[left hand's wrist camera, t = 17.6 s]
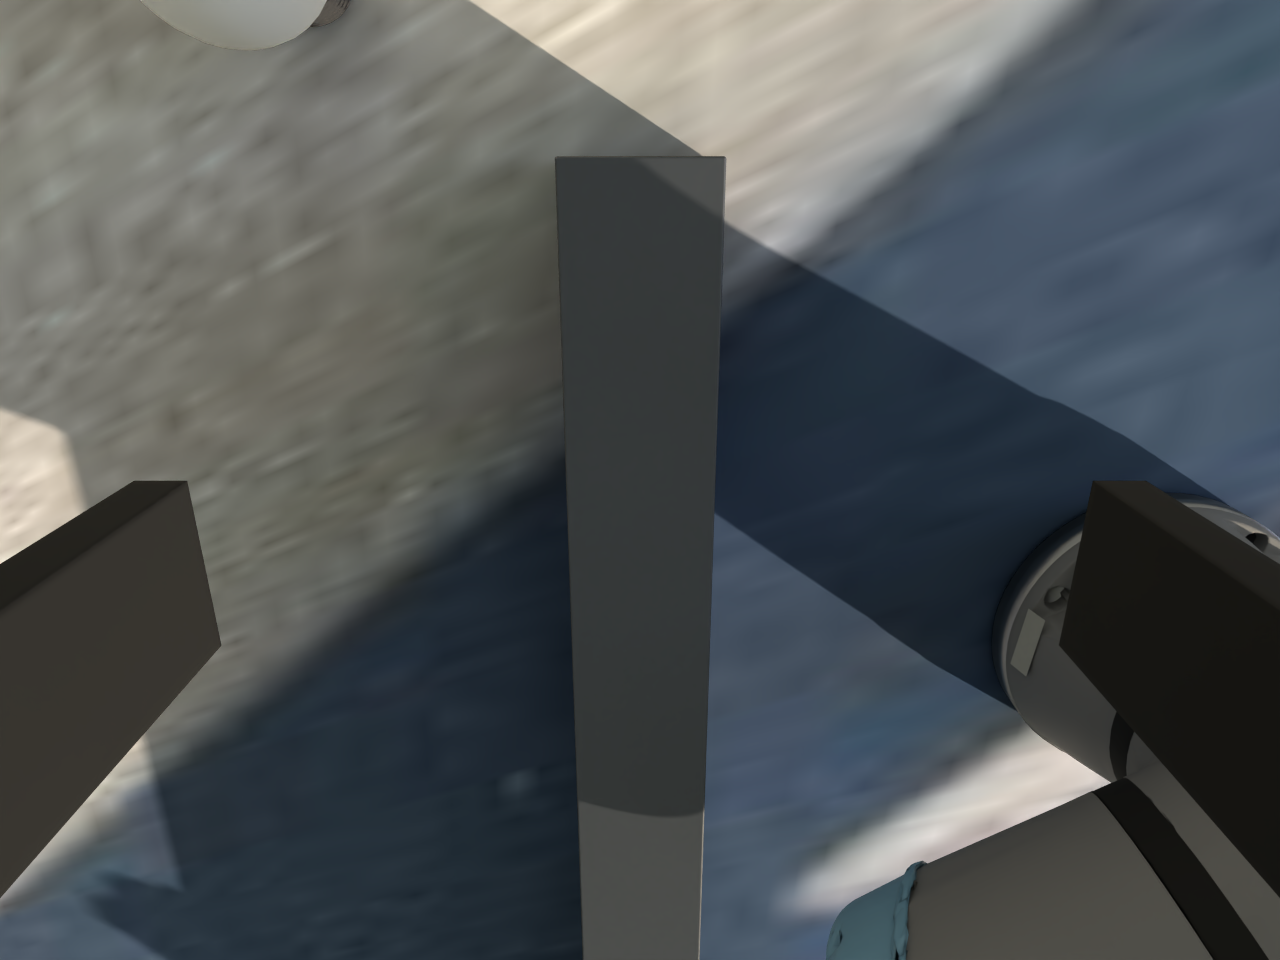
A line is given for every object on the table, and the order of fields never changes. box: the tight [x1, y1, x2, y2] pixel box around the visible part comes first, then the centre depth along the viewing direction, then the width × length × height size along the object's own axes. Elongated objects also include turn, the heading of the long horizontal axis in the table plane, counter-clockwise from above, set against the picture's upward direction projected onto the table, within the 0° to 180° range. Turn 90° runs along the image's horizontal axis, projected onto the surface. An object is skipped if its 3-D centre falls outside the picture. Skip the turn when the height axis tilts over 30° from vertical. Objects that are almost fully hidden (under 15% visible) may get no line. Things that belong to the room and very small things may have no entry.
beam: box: [555, 156, 726, 960], centre depth 44 cm, size 66×6×8 cm, turn 0°
